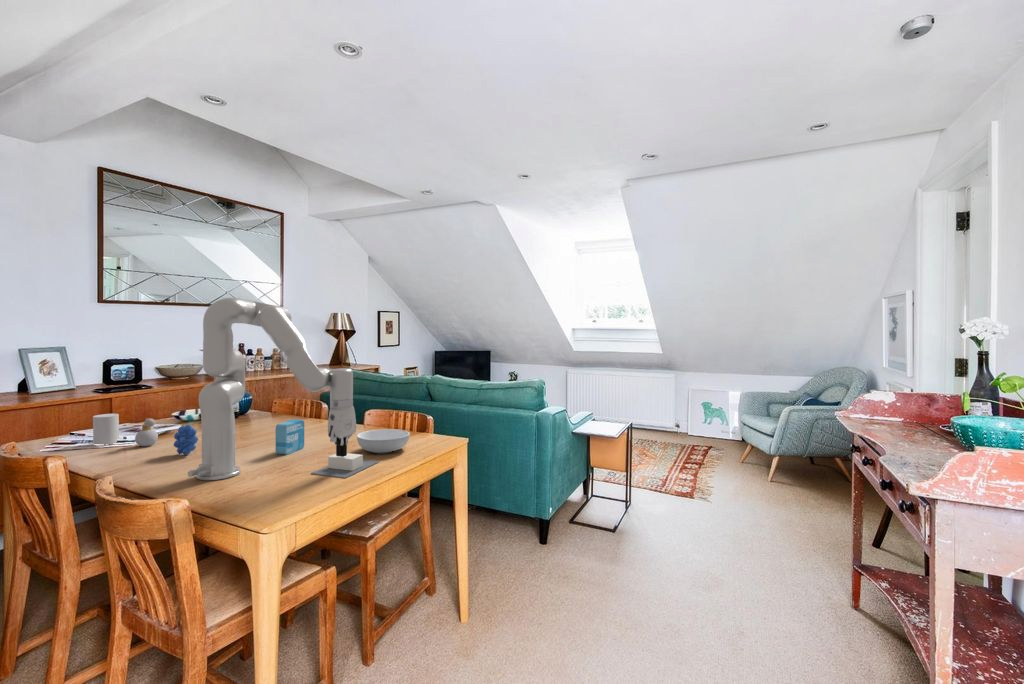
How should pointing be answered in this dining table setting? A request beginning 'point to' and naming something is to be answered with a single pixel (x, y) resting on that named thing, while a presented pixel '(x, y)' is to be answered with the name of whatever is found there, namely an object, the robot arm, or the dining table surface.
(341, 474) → the mat
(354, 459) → the white rectangular block
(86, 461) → the dining table surface
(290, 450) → the data package
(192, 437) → the grapes
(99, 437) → the cup
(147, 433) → the perfume bottle
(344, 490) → the dining table surface
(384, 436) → the serving bowl
